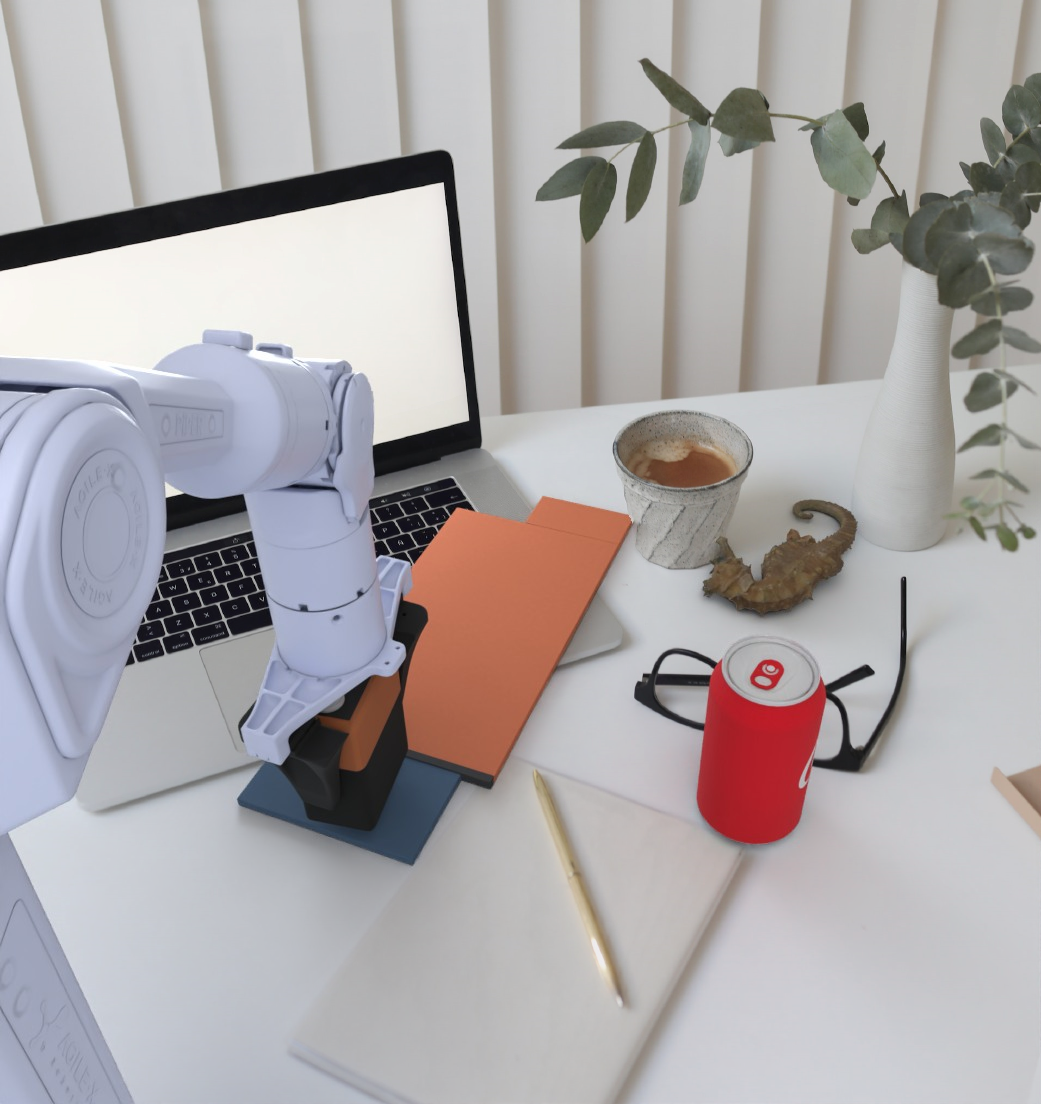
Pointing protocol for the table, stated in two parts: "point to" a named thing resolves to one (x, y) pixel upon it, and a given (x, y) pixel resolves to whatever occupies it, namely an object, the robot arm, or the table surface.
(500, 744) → the sorting mat
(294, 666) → the robot arm
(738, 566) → the seahorse
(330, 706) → the battery
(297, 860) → the table surface
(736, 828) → the beverage can
